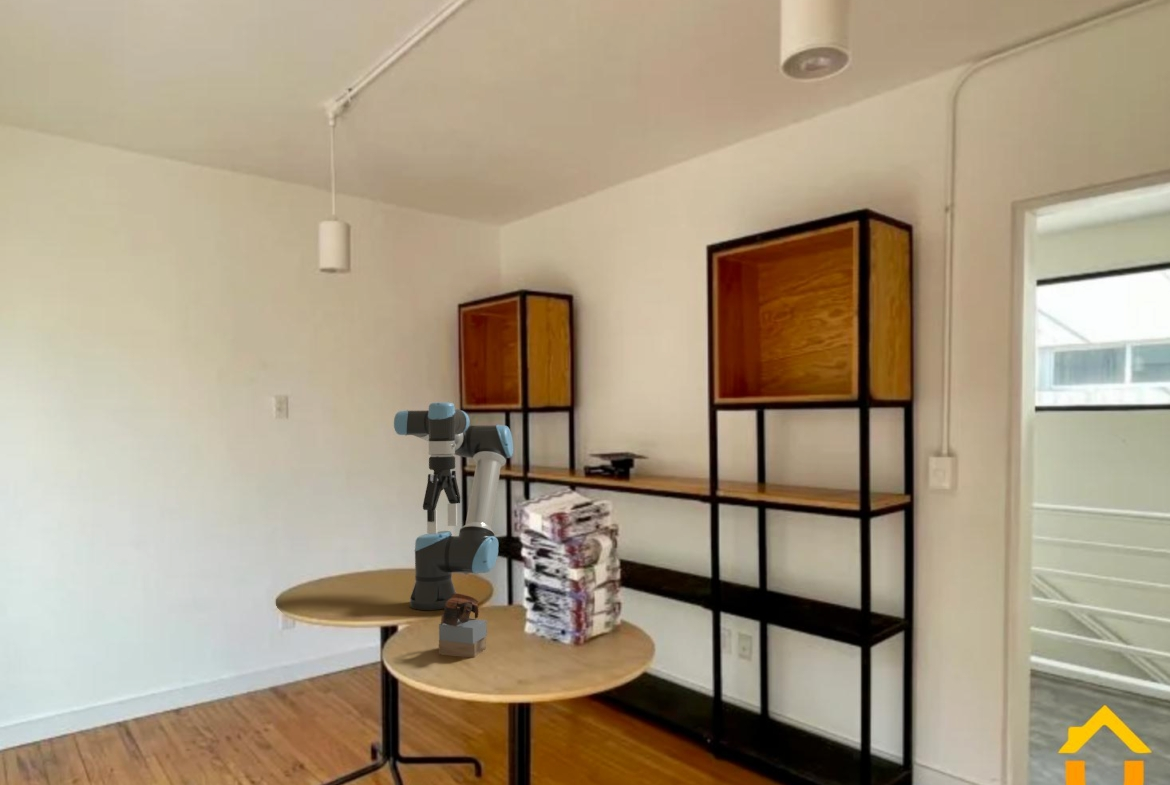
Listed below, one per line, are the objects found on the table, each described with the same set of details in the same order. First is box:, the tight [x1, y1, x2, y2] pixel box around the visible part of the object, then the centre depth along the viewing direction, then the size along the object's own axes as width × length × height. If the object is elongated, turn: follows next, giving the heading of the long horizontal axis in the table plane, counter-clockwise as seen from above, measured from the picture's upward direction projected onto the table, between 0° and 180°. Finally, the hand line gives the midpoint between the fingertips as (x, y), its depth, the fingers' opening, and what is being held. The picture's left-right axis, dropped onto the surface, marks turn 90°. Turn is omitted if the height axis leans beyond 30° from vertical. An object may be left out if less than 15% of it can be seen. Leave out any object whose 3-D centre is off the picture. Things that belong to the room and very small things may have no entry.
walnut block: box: [438, 636, 487, 658], centre depth 180 cm, size 7×10×4 cm
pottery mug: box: [440, 592, 480, 626], centre depth 180 cm, size 12×10×8 cm
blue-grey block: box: [438, 618, 488, 644], centre depth 179 cm, size 7×10×4 cm
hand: (442, 529), depth 199 cm, fingers open, 13 cm apart
